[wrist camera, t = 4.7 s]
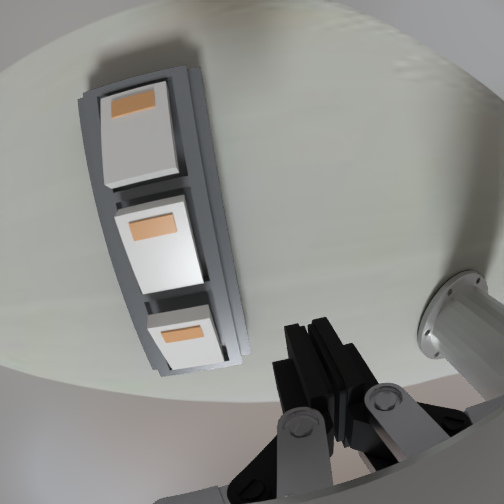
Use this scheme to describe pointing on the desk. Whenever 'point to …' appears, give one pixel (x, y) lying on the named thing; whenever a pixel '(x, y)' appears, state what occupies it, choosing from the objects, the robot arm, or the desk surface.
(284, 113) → the desk surface
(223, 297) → the rocker switch panel
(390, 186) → the desk surface
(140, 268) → the rocker middle
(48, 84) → the desk surface
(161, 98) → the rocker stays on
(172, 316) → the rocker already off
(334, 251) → the desk surface
